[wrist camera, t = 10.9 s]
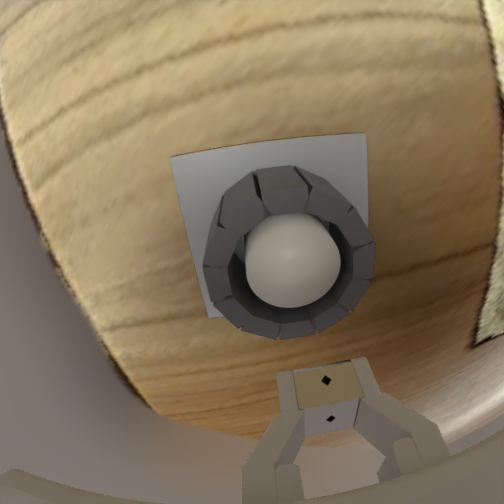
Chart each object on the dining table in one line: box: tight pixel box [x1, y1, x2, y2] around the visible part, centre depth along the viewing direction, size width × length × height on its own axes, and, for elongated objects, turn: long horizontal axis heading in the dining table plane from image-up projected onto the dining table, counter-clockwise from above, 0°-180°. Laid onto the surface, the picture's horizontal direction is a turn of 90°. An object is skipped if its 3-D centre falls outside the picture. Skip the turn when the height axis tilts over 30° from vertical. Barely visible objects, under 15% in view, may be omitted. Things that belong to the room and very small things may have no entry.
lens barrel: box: [170, 133, 375, 340], centre depth 18 cm, size 12×12×5 cm
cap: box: [244, 212, 341, 308], centre depth 18 cm, size 5×5×4 cm
